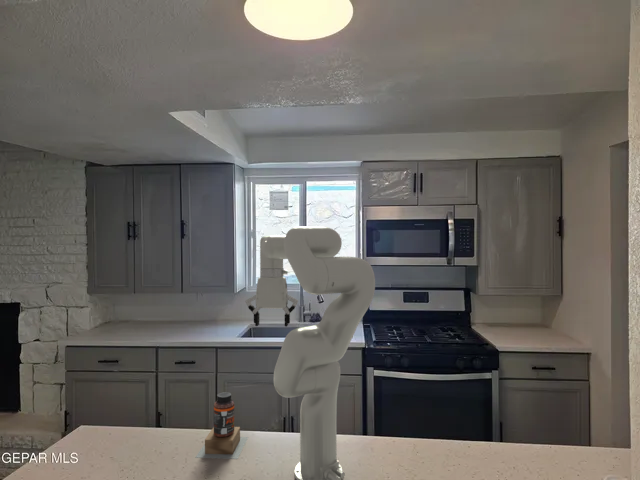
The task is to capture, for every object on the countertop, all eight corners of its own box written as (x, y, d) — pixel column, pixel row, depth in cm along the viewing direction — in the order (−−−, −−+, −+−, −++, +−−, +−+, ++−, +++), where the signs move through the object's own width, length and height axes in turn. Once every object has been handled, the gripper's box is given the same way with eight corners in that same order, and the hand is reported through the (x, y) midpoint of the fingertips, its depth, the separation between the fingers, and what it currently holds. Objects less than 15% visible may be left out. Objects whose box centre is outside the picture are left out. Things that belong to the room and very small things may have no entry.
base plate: (248, 440, 121) (248, 437, 121) (237, 462, 109) (237, 458, 109) (209, 439, 122) (209, 435, 122) (195, 461, 110) (195, 457, 110)
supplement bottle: (229, 439, 112) (229, 399, 112) (209, 437, 113) (209, 397, 113) (237, 429, 118) (237, 391, 118) (219, 427, 119) (219, 389, 119)
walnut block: (240, 440, 119) (240, 426, 119) (232, 454, 111) (232, 440, 111) (214, 439, 120) (214, 426, 120) (204, 453, 112) (204, 439, 112)
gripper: (299, 272, 133) (299, 323, 133) (248, 272, 134) (248, 322, 134) (296, 274, 125) (296, 328, 125) (242, 274, 126) (243, 327, 126)
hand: (271, 325), depth 130 cm, fingers open, 9 cm apart
